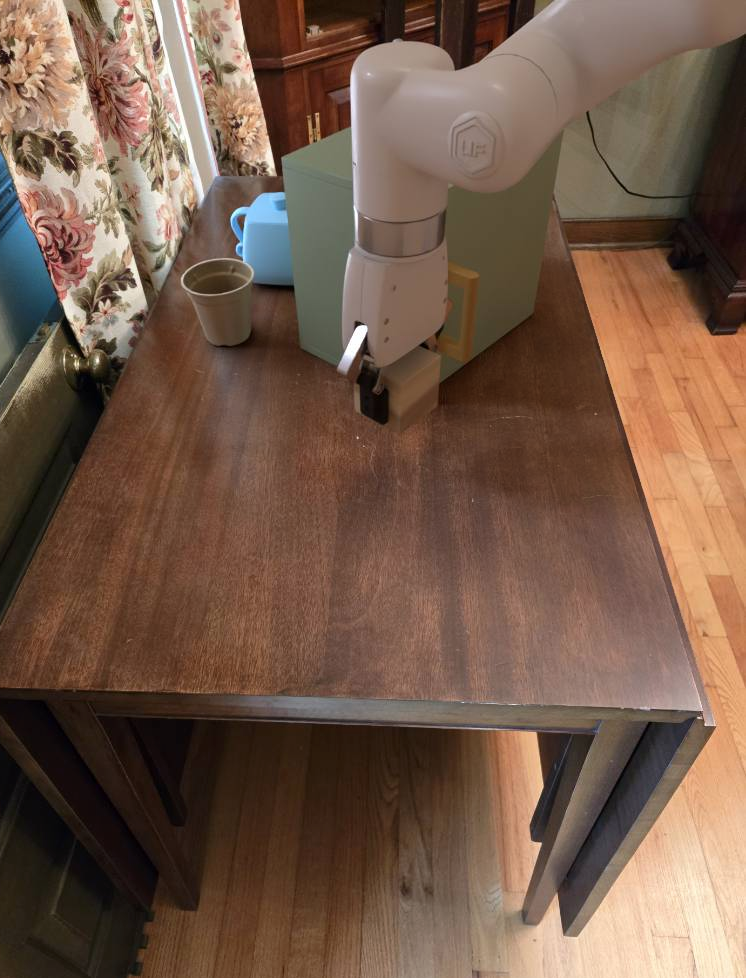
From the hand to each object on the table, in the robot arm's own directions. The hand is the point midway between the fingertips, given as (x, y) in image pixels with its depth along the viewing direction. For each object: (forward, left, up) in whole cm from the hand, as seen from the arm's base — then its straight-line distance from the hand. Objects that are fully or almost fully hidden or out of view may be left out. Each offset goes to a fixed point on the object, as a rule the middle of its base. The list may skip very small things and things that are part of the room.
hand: (396, 400), depth 73 cm
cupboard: (+16, -23, -9) cm, 29 cm away
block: (0, 0, -1) cm, 1 cm away
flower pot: (+35, -6, -9) cm, 37 cm away
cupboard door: (+3, -23, -9) cm, 25 cm away
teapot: (+40, -24, -9) cm, 48 cm away
